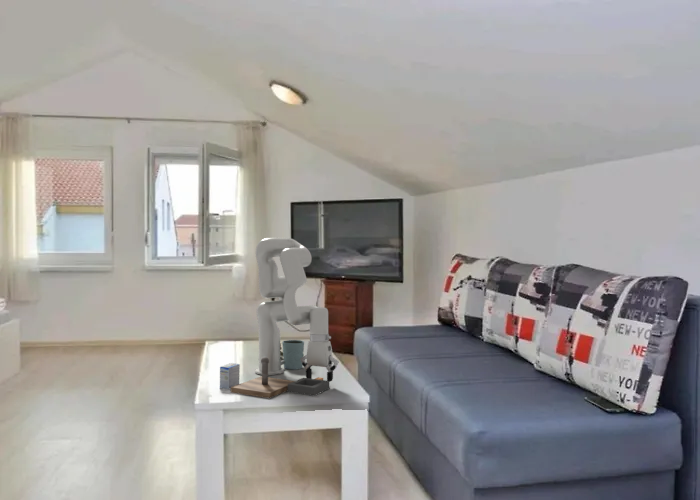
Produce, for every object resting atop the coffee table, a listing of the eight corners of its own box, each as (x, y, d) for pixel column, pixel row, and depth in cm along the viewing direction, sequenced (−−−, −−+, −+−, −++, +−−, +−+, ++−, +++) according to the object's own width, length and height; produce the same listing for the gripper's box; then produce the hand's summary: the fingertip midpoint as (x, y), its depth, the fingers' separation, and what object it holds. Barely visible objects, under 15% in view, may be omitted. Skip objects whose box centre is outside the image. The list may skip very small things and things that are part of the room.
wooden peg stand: (260, 381, 246) (261, 350, 246) (297, 386, 238) (297, 354, 238) (230, 392, 228) (230, 359, 228) (269, 398, 220) (269, 364, 220)
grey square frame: (308, 383, 243) (308, 375, 243) (333, 386, 238) (333, 379, 238) (287, 391, 229) (287, 384, 229) (314, 395, 224) (314, 387, 224)
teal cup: (300, 370, 266) (300, 343, 266) (278, 368, 268) (279, 342, 268) (306, 365, 276) (306, 340, 276) (285, 364, 278) (286, 339, 278)
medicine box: (230, 383, 242) (230, 362, 241) (239, 384, 240) (239, 363, 240) (219, 388, 234) (219, 366, 234) (229, 389, 233) (229, 367, 232)
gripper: (342, 338, 238) (342, 380, 238) (305, 335, 246) (305, 376, 246) (333, 340, 231) (333, 384, 231) (295, 337, 239) (296, 379, 239)
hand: (319, 380), depth 239 cm, fingers open, 9 cm apart
